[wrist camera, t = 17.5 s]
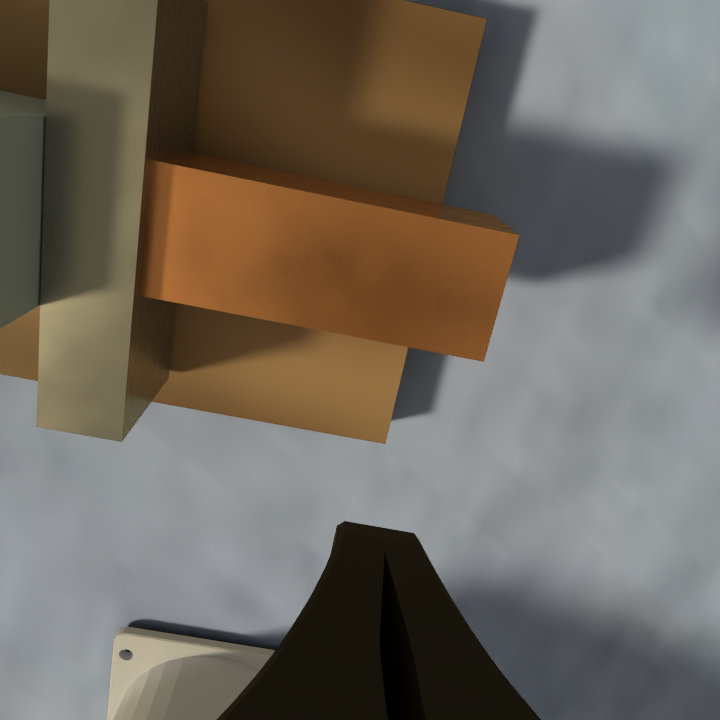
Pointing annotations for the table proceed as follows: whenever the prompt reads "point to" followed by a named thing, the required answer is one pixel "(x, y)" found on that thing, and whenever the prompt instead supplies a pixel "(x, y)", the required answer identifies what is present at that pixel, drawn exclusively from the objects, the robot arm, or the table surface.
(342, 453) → the table surface
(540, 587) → the table surface
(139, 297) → the clamp jaw
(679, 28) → the table surface
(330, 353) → the press
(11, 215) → the block
